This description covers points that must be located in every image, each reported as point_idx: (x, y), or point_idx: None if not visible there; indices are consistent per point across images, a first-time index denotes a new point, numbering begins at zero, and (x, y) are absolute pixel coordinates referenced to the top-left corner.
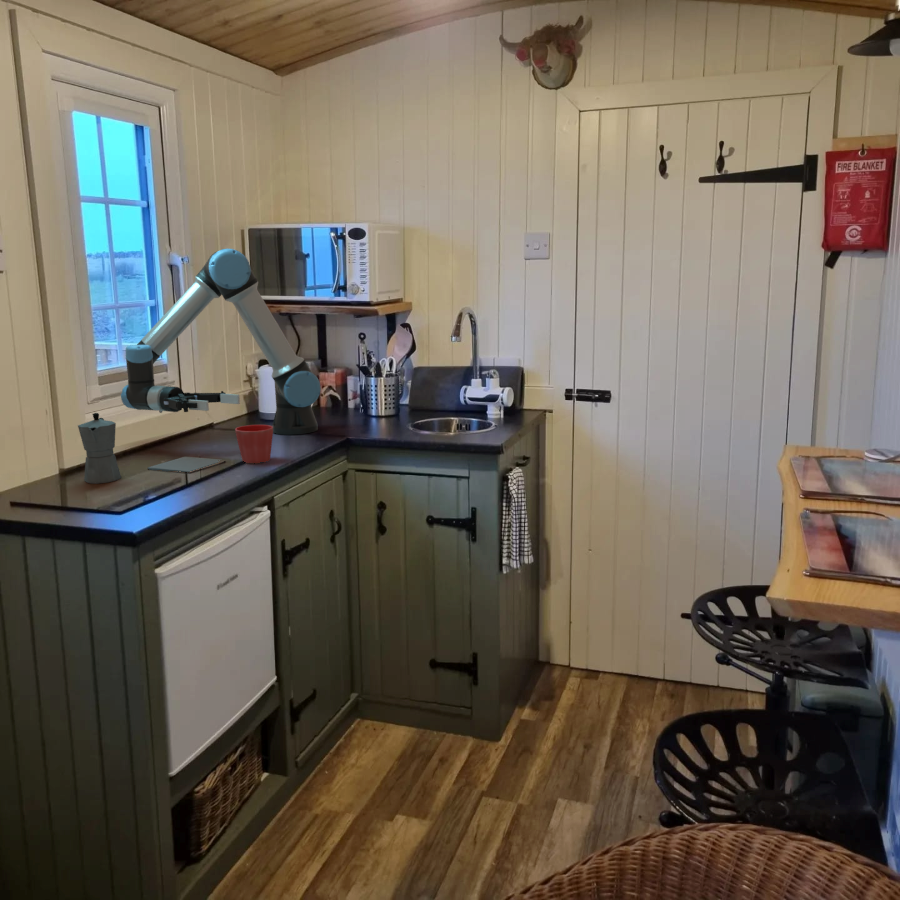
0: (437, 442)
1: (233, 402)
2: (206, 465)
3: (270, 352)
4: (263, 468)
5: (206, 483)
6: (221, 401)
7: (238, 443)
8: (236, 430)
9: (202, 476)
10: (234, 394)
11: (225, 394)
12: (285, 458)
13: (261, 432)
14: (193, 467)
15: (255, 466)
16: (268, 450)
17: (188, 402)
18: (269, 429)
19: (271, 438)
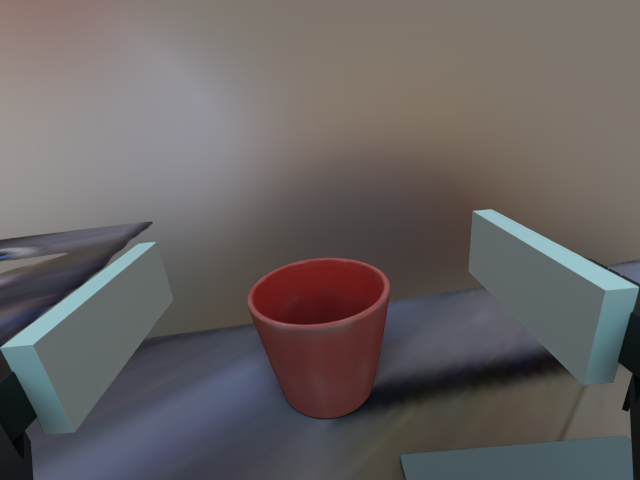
0: (111, 251)
1: (152, 314)
2: (517, 452)
3: None
4: (391, 321)
5: None
6: (78, 407)
7: (376, 347)
8: (385, 298)
9: None
10: (123, 258)
11: (88, 301)
12: None
13: (348, 263)
14: (589, 475)
15: (386, 344)
16: (321, 321)
17: (636, 305)
18: (316, 259)
19: (304, 291)
